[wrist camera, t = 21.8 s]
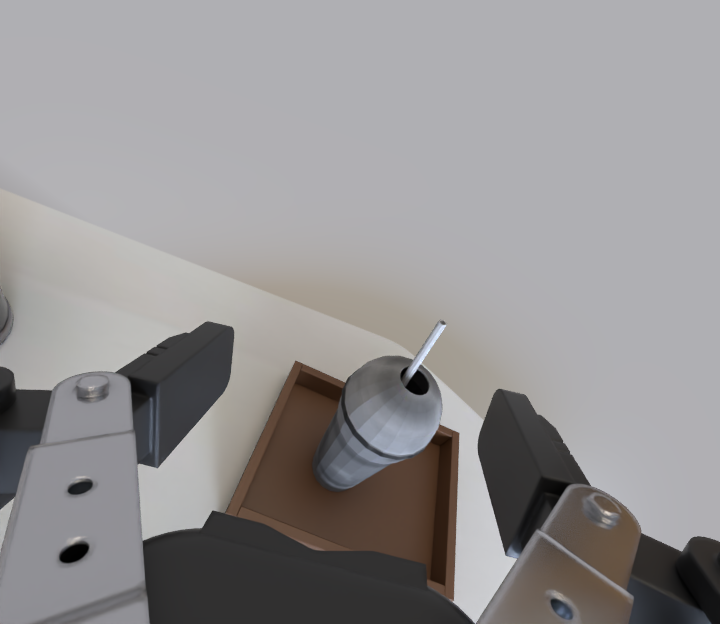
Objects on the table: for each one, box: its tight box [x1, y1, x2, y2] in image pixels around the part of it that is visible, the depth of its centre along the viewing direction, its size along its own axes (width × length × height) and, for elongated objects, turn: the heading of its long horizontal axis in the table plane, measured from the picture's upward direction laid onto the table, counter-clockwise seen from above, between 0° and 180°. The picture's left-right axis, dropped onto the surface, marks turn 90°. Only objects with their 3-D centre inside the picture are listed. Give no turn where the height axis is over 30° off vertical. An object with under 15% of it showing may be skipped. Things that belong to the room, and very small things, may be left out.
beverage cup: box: [312, 320, 447, 492], centre depth 28 cm, size 7×7×20 cm
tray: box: [225, 361, 459, 601], centre depth 34 cm, size 19×15×3 cm
